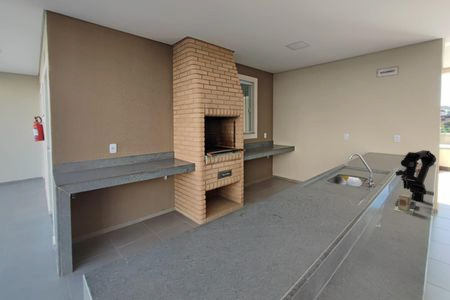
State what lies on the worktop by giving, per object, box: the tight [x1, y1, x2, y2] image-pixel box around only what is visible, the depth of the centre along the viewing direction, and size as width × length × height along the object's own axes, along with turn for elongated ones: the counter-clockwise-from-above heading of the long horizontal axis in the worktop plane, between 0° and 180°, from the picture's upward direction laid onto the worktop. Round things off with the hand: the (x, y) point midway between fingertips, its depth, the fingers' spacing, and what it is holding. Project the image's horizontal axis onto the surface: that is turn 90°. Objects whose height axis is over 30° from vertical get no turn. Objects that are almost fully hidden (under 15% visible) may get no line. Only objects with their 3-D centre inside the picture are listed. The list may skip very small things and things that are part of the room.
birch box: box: [398, 193, 412, 212], centre depth 152 cm, size 5×5×10 cm
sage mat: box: [393, 206, 415, 215], centre depth 153 cm, size 10×10×1 cm
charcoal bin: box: [394, 198, 417, 211], centre depth 161 cm, size 11×11×3 cm
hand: (405, 188), depth 165 cm, fingers open, 9 cm apart
